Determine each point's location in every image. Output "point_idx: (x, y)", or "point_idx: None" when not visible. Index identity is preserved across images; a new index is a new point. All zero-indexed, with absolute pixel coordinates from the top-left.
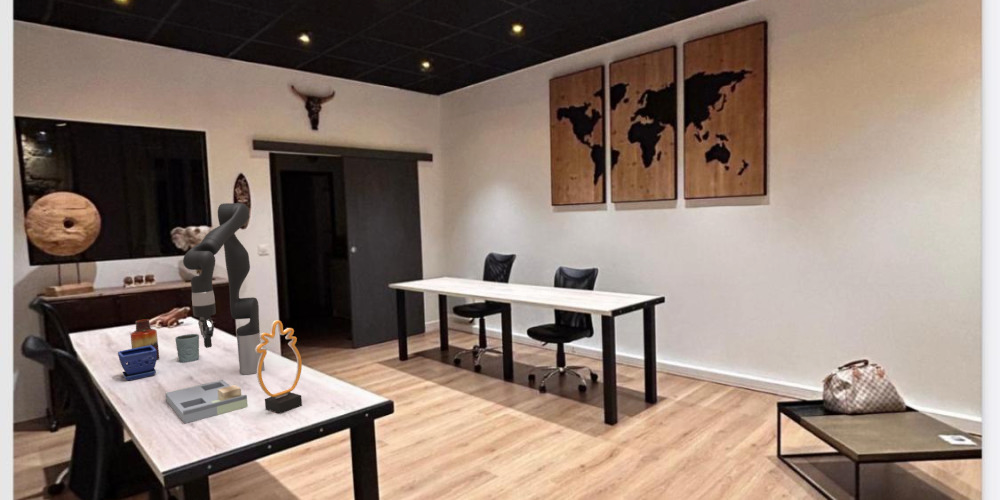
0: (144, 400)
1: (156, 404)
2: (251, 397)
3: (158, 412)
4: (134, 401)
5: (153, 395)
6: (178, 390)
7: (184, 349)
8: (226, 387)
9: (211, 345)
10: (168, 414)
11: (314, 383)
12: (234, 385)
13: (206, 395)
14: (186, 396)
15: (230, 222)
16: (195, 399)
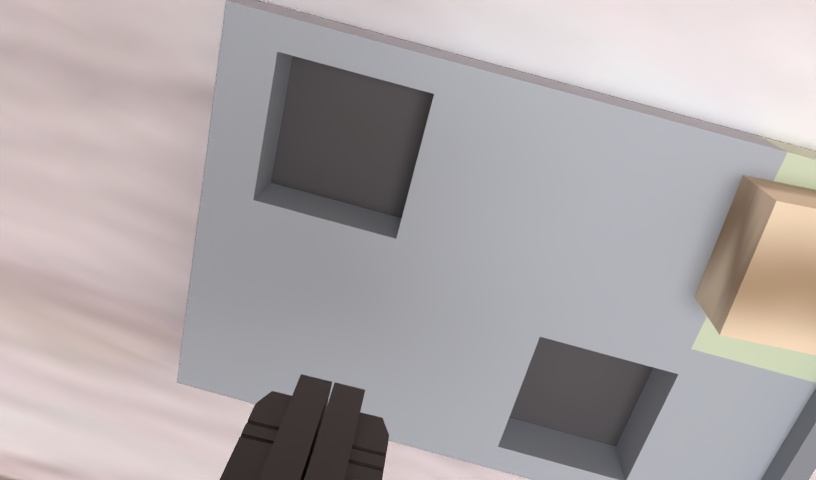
0: (77, 401)
1: (223, 407)
2: (761, 35)
3: (385, 466)
4: (48, 430)
5: (15, 336)
6: (201, 320)
7: None
8: (759, 276)
9: (361, 399)
10: None
11: None
12: (789, 212)
13: (525, 295)
14: (398, 363)
15: None
16: (526, 368)
